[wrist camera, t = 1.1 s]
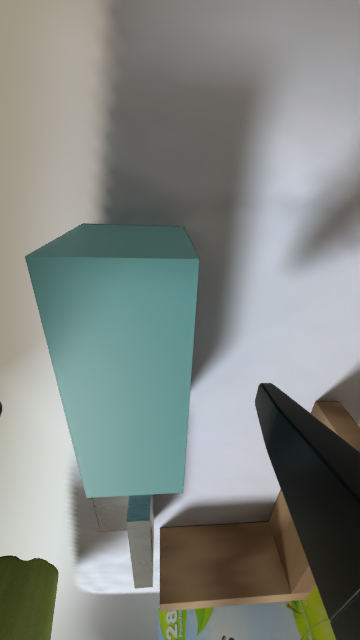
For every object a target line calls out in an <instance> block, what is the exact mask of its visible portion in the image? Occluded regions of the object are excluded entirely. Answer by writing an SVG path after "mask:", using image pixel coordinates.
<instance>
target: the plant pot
mask: <svg viewBox="0 0 360 640" xmlns="http://www.w3.org/2000/svg"><path fill="white" fill-rule="evenodd" d="M57 583H58V570H57V569H56V567H55V566H54V565H52V564H50V563H48V562H47V561H46V560H43V559H40V558H38V559H36V558H34V559H32V560H29V561H23V560H20V559H19V558H18V557H16V556H2V557H0V640H50V638H51V630H52V622H53V614H54V607H55V599H56V591H57Z"/></svg>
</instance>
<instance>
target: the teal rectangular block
mask: <svg viewBox="0 0 360 640" xmlns="http://www.w3.org/2000/svg"><path fill="white" fill-rule="evenodd" d="M25 258H26V262H27V266H28V270H29V274H30V278H31V282H32V286H33V290H34V293H35V298H36V302H37V306H38V309H39V313H40V317H41V321H42V325H43V329H44V333H45V337H46V341H47V345H48V348H49V353H50V357H51V361H52V365H53V368H54V372H55V376H56V380H57V384H58V388H59V392H60V396H61V400H62V404H63V408H64V412H65V415H66V419H67V423H68V427H69V431H70V435H71V439H72V443H73V447H74V451H75V455H76V459H77V463H78V467H79V471H80V475H81V479H82V483H83V487H84V490H85V494H86V498H92V497H112V496H131V495H150V494H170V493H183V485H184V471H185V457H186V443H187V429H188V415H189V400H190V386H191V372H192V358H193V344H194V329H195V315H196V301H197V287H198V273H199V257H198V255H197V253H196V251H195V249H194V247H193V245H192V243H191V241H190V239H189V237H188V235H187V233H186V230H185V228H184V227H180V226H140V225H101V224H86V223H83V224H81V225H79V226H78V227H76V228H74V229H73V230H71V231H69V232H67V233H65V234H64V235H62V236H60V237H58V238H56V239H55V240H53V241H51V242H49V243H48V244H46V245H44V246H42V247H41V248H39V249H37V250H35V251H34V252H32V253H30V254H28V255H27V256H25Z"/></svg>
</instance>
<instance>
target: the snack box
mask: <svg viewBox="0 0 360 640" xmlns="http://www.w3.org/2000/svg"><path fill="white" fill-rule="evenodd" d="M330 622H331V621H330V620H329V618H328V616H327V613H326V610H325V607H324V605H323V602H322V599H321V597H320V594H319V591H318V588H317V586H315V587H314V589H313V590H312V591H311V593H310V594H309V595H308V597H307V598H306V599H305V600H295V601H283V602H271V603H259V604H247V605H235V606H223V607H211V608H199V609H187V610H175V611H163V612H160V608H159V609H158V640H336V638H335V635H334V632H333V630H332V627H331V624H330Z"/></svg>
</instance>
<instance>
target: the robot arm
mask: <svg viewBox="0 0 360 640" xmlns="http://www.w3.org/2000/svg"><path fill="white" fill-rule="evenodd" d="M255 406H256V410H257V414H258V418H259V422H260V426H261V430H262V434H263V438H264V442H265V446H266V449H267V452H268V455H269V458H270V460H271V463H272V466H273V468H274V471H275V474H276V477H277V479H278V482H279V485H280V488H281V490H282V493H283V496H284V498H285V501H286V504H287V507H288V509H289V512H290V515H291V517H292V520H293V523H294V526H295V528H296V531H297V534H298V537H299V539H300V542H301V545H302V547H303V550H304V553H305V556H306V558H307V561H308V564H309V567H310V569H311V572H312V575H313V577H314V580H315V583H316V586H317V588H318V591H319V594H320V597H321V599H322V602H323V605H324V607H325V610H326V613H327V616H328V618H329V620H330V621H331V622H330V624H331V627H332V630H333V632H334V635H335V638H336V640H360V452H359V451H358V450H357V449H355V448H354V447H353V446H352V445H350V444H349V443H348V442H346V441H345V440H344V439H343V438H341V437H340V436H339V435H337V434H336V433H335V432H334V431H332V430H331V429H330V428H329V427H327V426H326V425H325V424H323V423H322V422H321V421H320V420H318V419H317V418H316V417H314V416H313V415H312V414H311V413H309V412H308V411H307V410H305V409H304V408H303V407H302V406H300V405H299V404H298V403H297V402H295V401H294V400H293V399H291V398H290V397H289V396H288V395H286V394H285V393H284V392H282V391H281V390H280V389H279V388H277V387H276V386H275V385H273V384H272V383H261V384H260V385H259V387H258V391H257V395H256V399H255ZM1 413H2V404H1V402H0V415H1Z"/></svg>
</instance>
